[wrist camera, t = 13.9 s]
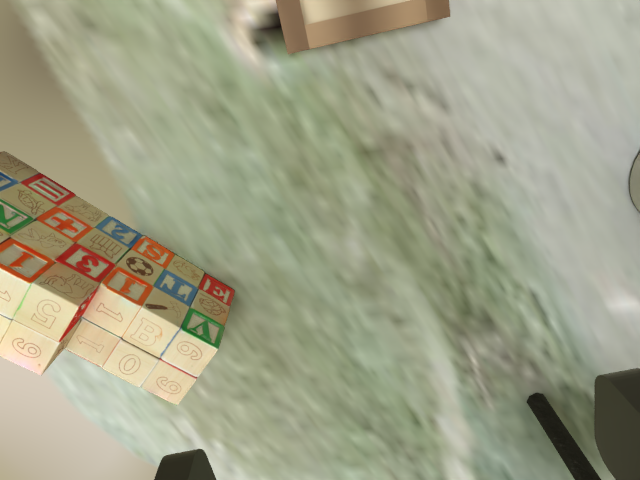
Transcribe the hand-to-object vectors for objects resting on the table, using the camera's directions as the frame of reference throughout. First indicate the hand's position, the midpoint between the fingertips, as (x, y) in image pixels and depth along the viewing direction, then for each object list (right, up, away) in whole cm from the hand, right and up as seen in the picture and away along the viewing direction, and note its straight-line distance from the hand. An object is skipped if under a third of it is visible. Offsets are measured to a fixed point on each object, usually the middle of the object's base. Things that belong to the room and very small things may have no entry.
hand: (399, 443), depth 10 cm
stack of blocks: (-19, +3, +31) cm, 37 cm away
